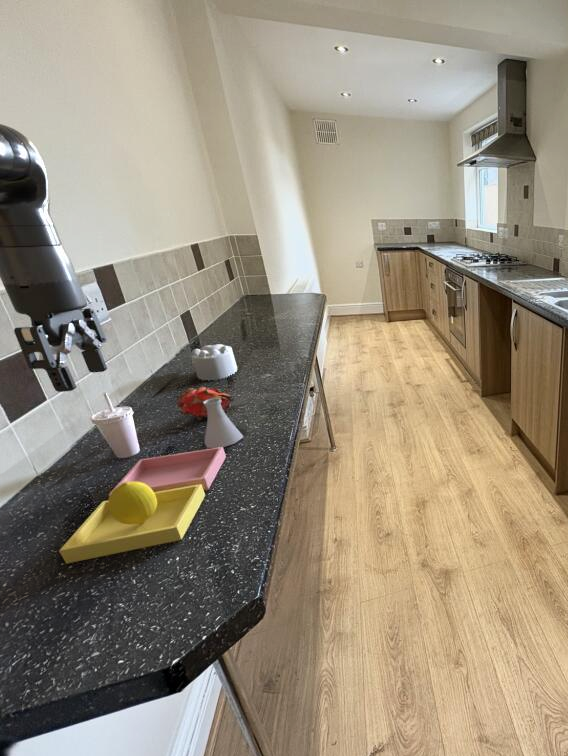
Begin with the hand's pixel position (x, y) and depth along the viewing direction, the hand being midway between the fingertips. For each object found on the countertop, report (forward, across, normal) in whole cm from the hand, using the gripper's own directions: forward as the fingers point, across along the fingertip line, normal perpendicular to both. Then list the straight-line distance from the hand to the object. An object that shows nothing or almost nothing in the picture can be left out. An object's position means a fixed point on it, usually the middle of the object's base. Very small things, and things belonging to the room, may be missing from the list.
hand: (83, 380), depth 66 cm
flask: (+22, -16, +10) cm, 30 cm away
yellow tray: (+22, +11, +6) cm, 25 cm away
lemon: (+22, +10, +6) cm, 25 cm away
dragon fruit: (+23, -32, +3) cm, 40 cm away
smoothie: (+23, -17, -8) cm, 29 cm away
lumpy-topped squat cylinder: (+23, -66, -5) cm, 70 cm away
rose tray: (+22, -3, +6) cm, 23 cm away
